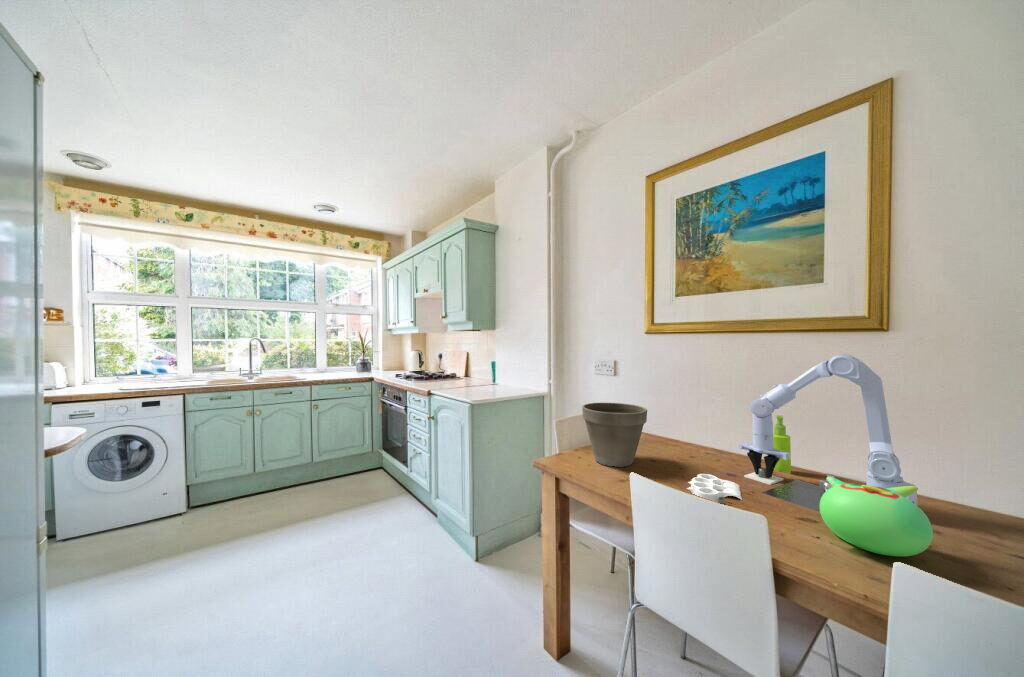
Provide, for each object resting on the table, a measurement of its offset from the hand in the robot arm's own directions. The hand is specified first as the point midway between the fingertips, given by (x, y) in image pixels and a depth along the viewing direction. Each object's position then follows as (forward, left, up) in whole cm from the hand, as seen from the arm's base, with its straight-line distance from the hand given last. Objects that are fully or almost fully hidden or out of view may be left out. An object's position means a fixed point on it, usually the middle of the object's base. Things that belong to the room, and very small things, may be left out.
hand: (763, 475), depth 121 cm
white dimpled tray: (+3, +23, -3) cm, 23 cm away
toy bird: (-33, +20, -3) cm, 39 cm away
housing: (-13, +3, -2) cm, 13 cm away
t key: (-15, -8, -1) cm, 17 cm away
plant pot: (+41, +27, -3) cm, 49 cm away
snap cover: (0, 0, -1) cm, 1 cm away
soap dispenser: (+3, -17, -3) cm, 17 cm away
